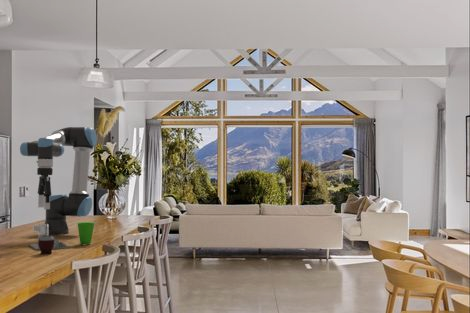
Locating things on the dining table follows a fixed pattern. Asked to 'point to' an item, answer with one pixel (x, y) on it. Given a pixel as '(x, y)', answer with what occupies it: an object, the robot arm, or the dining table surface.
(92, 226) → the cup
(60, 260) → the dining table surface
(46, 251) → the mate gourd
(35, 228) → the elbow
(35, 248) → the duct flange
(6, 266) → the dining table surface
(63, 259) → the dining table surface
